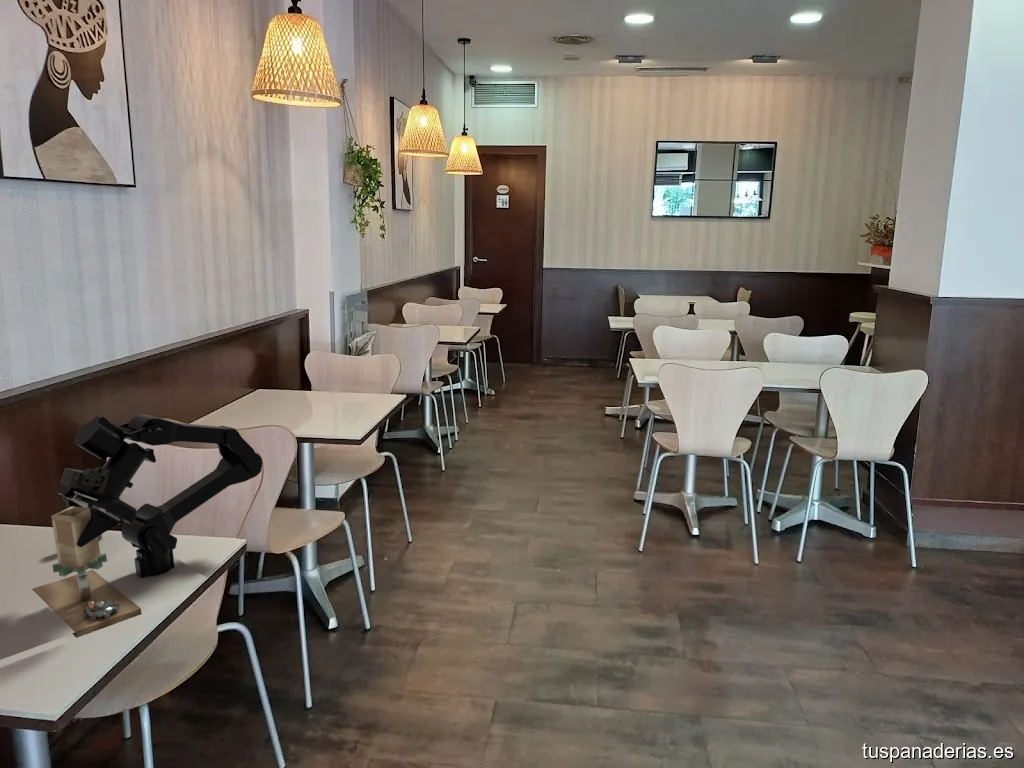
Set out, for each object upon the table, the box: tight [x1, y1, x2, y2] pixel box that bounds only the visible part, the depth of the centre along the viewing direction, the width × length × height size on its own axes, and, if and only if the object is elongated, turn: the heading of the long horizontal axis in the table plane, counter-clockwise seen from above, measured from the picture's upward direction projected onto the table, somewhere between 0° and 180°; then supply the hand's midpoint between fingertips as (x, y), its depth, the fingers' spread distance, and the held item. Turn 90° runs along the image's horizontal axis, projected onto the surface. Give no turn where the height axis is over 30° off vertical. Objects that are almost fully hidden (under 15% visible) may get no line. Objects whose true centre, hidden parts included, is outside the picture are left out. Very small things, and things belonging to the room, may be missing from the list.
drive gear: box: [83, 600, 119, 621], centre depth 141 cm, size 6×6×3 cm
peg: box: [77, 573, 91, 601], centre depth 147 cm, size 2×2×5 cm
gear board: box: [32, 569, 142, 639], centre depth 148 cm, size 11×25×1 cm, turn 47°
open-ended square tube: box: [51, 506, 108, 578], centre depth 145 cm, size 9×9×11 cm
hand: (69, 542), depth 144 cm, fingers closed on open-ended square tube, 6 cm apart
